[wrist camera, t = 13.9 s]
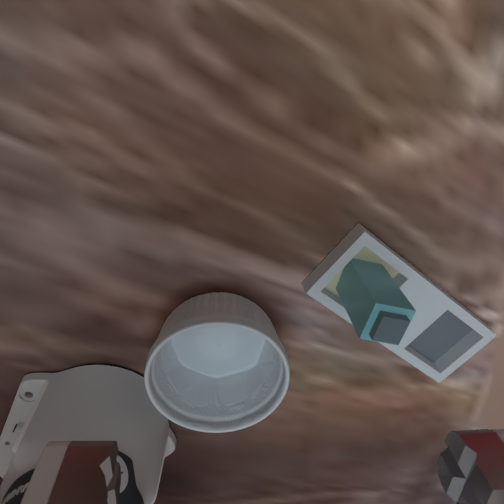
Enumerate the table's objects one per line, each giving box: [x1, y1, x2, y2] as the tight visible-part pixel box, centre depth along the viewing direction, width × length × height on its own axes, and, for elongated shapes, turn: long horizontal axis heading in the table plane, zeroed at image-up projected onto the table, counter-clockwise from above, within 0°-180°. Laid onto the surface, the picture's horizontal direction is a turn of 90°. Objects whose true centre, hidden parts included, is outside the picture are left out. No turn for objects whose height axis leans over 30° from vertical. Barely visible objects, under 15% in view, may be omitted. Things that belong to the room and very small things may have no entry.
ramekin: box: [144, 292, 290, 433], centre depth 42 cm, size 13×13×7 cm
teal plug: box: [336, 258, 416, 345], centre depth 39 cm, size 4×4×9 cm
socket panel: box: [302, 223, 497, 383], centre depth 44 cm, size 8×20×2 cm, turn 51°
